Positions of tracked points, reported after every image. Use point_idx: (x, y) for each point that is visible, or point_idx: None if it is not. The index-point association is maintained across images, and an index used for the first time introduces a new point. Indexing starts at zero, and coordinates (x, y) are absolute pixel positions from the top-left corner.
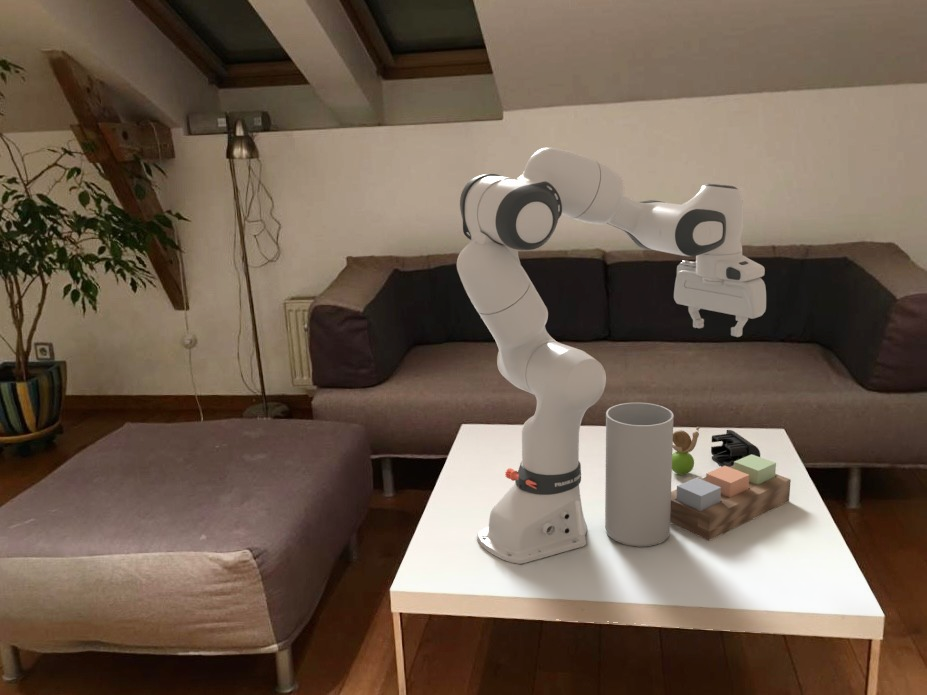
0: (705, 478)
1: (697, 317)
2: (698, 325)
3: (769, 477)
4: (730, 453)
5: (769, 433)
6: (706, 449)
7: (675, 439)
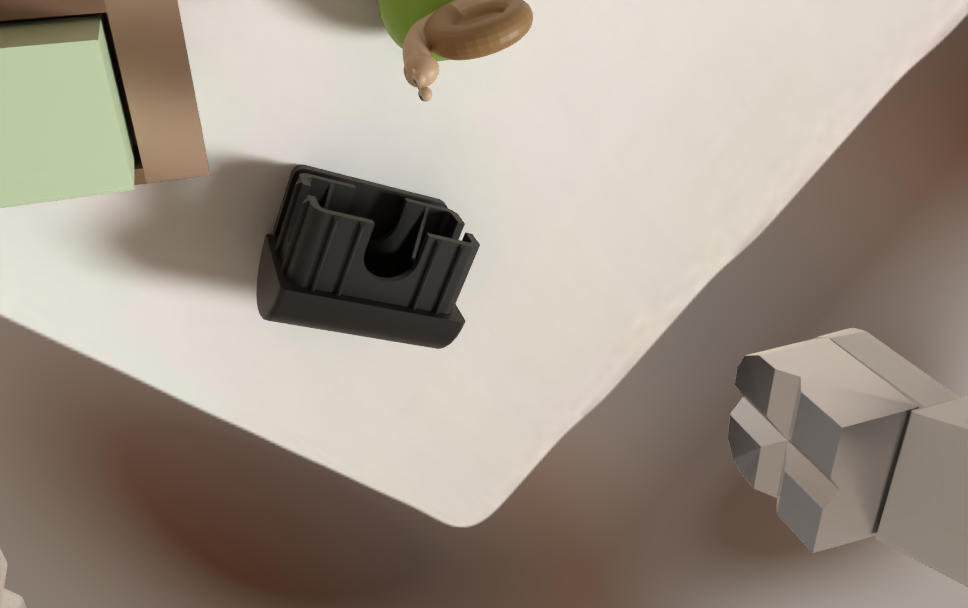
0: None
1: (926, 490)
2: (781, 376)
3: None
4: (399, 266)
5: (463, 500)
6: (514, 245)
7: (503, 5)
